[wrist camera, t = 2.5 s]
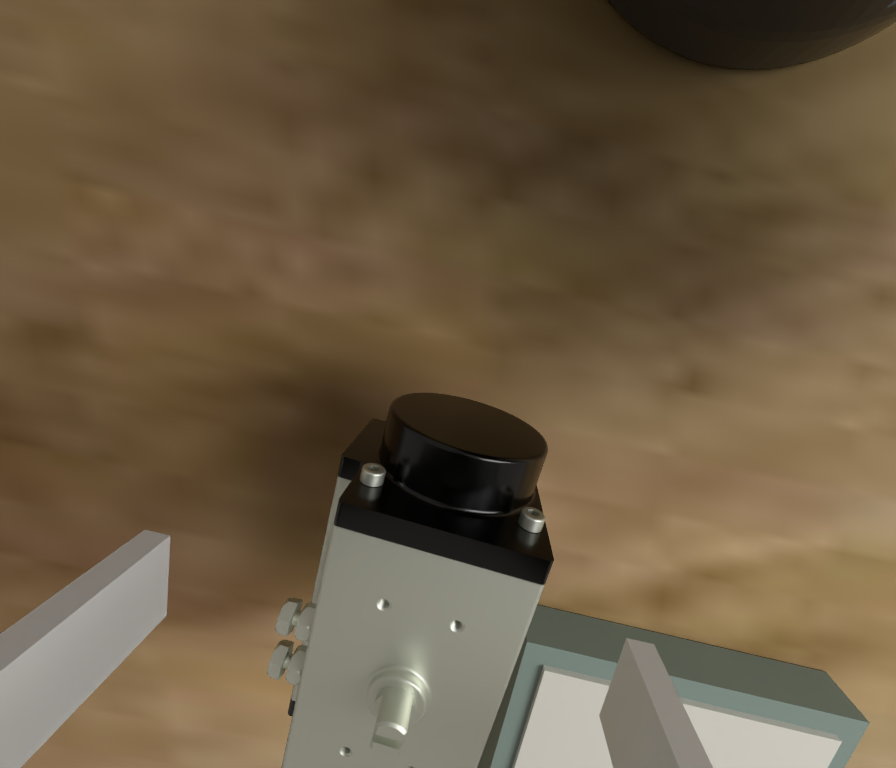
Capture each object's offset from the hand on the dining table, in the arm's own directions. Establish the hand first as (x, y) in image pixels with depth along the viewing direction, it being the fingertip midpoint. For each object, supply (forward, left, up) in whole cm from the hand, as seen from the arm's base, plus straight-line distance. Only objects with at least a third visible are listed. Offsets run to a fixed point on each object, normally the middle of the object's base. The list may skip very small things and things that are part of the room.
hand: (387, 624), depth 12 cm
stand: (+12, +13, -9) cm, 20 cm away
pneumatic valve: (0, 0, -9) cm, 9 cm away
